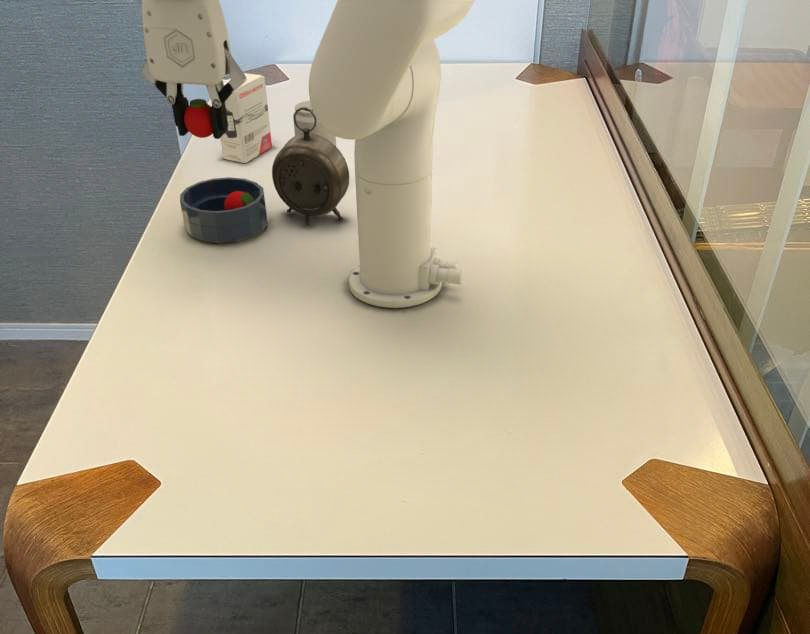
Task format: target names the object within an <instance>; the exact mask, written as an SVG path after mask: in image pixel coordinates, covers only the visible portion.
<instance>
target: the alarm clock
mask: <svg viewBox="0 0 810 634" xmlns="http://www.w3.org/2000/svg"><path fill="white" fill-rule="evenodd" d="M300 110H308V111H309V112H311V114H312V115H313V117H314V120H315V123H314V126H313V128H312V129H309V128H307V127H306V128H304V129H302V128H300V127H299V126H298V124H297V122H296V114H297V113H298V112H299V111H300ZM293 115H294V120H293V124H294V123H295V125H296V126H297V128H298V129H299V130H301V131H303V133H304V134H300V135H297V136H295V135H294V136H293V137H291V138H290V139H289V140H288V141H287V142H286V143H285V144H284V146H283V147H281V149H280V150H279V151H278V153H277V154H276V156H275V157H274V159H273V162H272V168H271V177H272V178H271V179H272V182H273V186H274V189H275V191H276V193H277V195H278V196H279V198H280V199H281V200H282V201H283V203H284V204H285V205H286V206H287V207H288V208H287V209H286V212H287V214H290V213H292V211H294V212H296V213H298V214H299V215H302V216H304V225H305V226H307V227H308V226H309V225H310V219H311V217H312V218H316V217H317V218H318V217H322V216H326V215H327V214H329V213H331V212H333V214H334V215H335V216H336V217H337V219H338V221H340V222H341V221H343V219H344V218H343V216H342V215H341V213H340V211H339V210H338V209H337V206H338V205H339V203H340V202H341V201H342V199H343V198H344V197H345V196H346V193H348V189H349V185H350V171H349V166H348V164H347V161H346V158H345V156H344V155H343V153H342V152H341V150H340V149H339V148H338V147H337V145H336V146H335V145H334V144H333V143H331V142H330V141H329V140H327V139H326V138H324V137H321V136H319V135H316V134H310V133H309V132H310V131H312V130H313V129H314V128H315V126H316V121H317V120H316V116H315V114H314V113H313V111H312V110H311V109H309V108H307V107H300V108H298V109H297V110H296V111H294V112H293Z"/></svg>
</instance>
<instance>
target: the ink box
mask: <svg viewBox="0 0 810 634" xmlns="http://www.w3.org/2000/svg"><path fill="white" fill-rule="evenodd" d="M243 73H244V74H245V76H246V81H245V82H244V83H243V84H242V85H241V86H240V87H239V88H237V89H236V90H235V91H234V92H233V93H232V94H231V95H230V96H229V98H228V99H227V100H226V101H225V106H226V113H227V120H228V128H227V130H226V132H225V133H224V134H223V136H222V137H221V138H220V139H219V140H220V145H221V151H222V152H221V153H222V158H223V159H224V160H228V161H232V162H237V163H242V164H247V163H248V162H250V161H251V160H253V159H255V158H257V157H258V156H260V155H261V154H263V153H264V152H266V151H268V150H269V149H271V148H272V147H273V142H272V132H271V125H270V124H271V123H270V114H269V105H268V98H267V97H268V96H267V88H266V79H265V76H264V75H262V74H255V73H246V72H243ZM230 80H231V77H230V78H228V79H226V80H223V83H224V85H225V84H227V83H228V82H229V81H230Z"/></svg>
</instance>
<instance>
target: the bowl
mask: <svg viewBox="0 0 810 634" xmlns="http://www.w3.org/2000/svg"><path fill="white" fill-rule="evenodd" d="M264 190H265V189H264V187H263V186H261V185H260V184H259V183H258V182H257V181H254V180H249V179H247V178H241V177H229V176H228V177H227V176H226V177H218V178H217V177H216V178H215V177H214V178H209V179H205V180H201V181H198V182H195V183H194V184H192V185H190V186H188V187H186V188H185V189H184V190H183V191H182V192H181V193H180V194H179V203H180V204H179V205H180V209H181V214H182V218H183V224H184V228H185V231H186V232H187V233H188V234H189V235H190V236H191V237H193V238H196V239H198V240H201V241H203V242H212V243H233V242H238V241H242V240H245V239H248V238H251V237H253V236H255V235H257V234H259V233H261V232H262V231H263V230H264V229H265V228H266V226H267V225H268V223H269V222H268V214H267V207H266V198H265V191H264ZM236 191H241V192H244V193H245V192H246V193H249V194H250V195H251V196H252V197H253V199H254V202H252V203H250V204H248V205H246V206H244V207H240V208H236V209H233V210H225V209H224V203H225V200H226V198H227V196H228V195H229V194H231V193H233V192H236Z"/></svg>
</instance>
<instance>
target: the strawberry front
mask: <svg viewBox="0 0 810 634" xmlns="http://www.w3.org/2000/svg"><path fill="white" fill-rule="evenodd" d="M252 202H254V199H253V197H252V196H251V195H250V194H249V193H246V192H245V193H244V192H241V191H236V192H233V193H231V194H229V195H228V196H227V198H226V200H225V203H224V209H225V210H233V209H236V208H240V207H244V206H246V205H248V204H250V203H252Z"/></svg>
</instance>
